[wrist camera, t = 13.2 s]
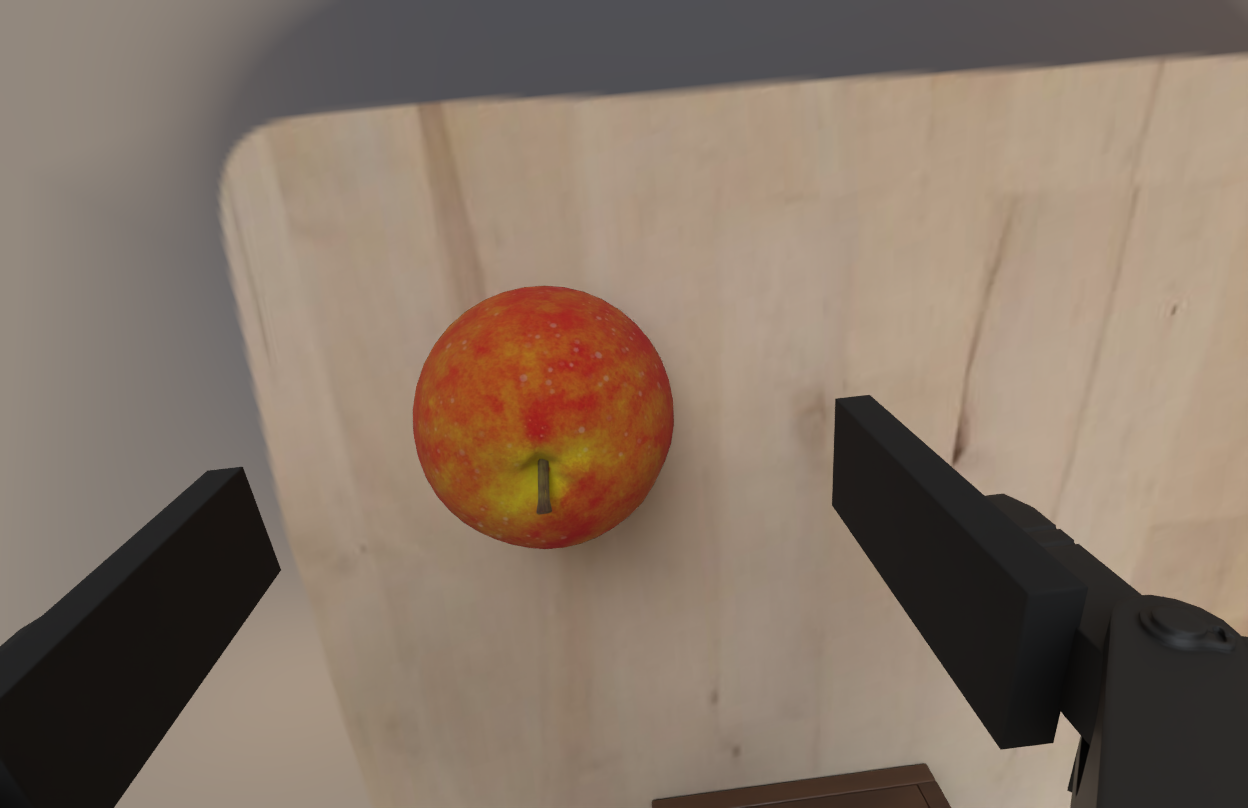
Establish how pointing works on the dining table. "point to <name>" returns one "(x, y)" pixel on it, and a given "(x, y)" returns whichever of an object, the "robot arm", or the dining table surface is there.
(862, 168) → the dining table surface
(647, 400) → the fruit
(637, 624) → the dining table surface
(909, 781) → the chest
